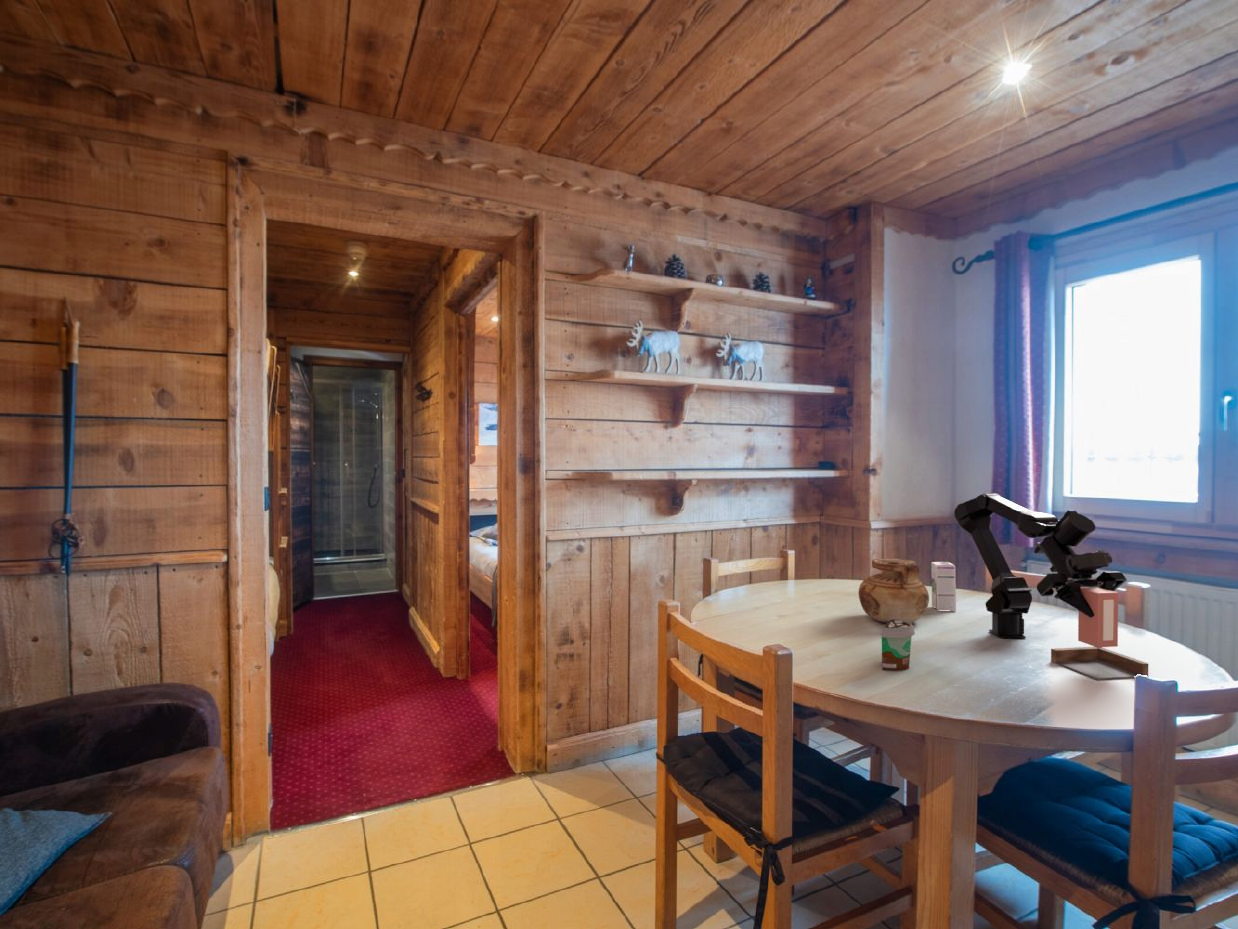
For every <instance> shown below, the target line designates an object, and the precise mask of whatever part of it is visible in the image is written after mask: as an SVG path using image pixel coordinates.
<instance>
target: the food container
mask: <svg viewBox="0 0 1238 929" xmlns="http://www.w3.org/2000/svg"><path fill="white" fill-rule="evenodd" d="M880 632H881V633H880V638H881V662H882V663H881V668H882V671H887V672H903V671H907V670H909V669H910V662H911V661H910V659H911V648H912V637H913V636H915V635H916V632H915V628H914V625H913V622H912V623H911V622H910V621H908V620H905V619H902V618H898V617H891V616H890V621H889V623H886V624H885V626H884V627H881V629H880Z"/></svg>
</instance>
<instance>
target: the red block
mask: <svg viewBox="0 0 1238 929" xmlns="http://www.w3.org/2000/svg"><path fill="white" fill-rule="evenodd" d="M1081 593H1082V595H1083V596H1084V598H1085V599H1086V601H1087V603H1088V604H1089V606H1090V607H1091V609H1092V611H1093V613H1094V616H1093V617H1089V616H1087V615H1085V614H1084V613H1082V612H1081V611H1079V610H1078V619H1077V620H1078V623H1077V624H1078V625H1077V626H1078V632H1077V633H1078V635H1077V636H1078V638H1077V639H1078V642H1081V643H1083V644H1087V645H1090V646H1091V647H1102V648H1110V647H1111V648H1113V647H1114V648H1115V647H1118V645H1119V644H1118V643H1119V642H1118V640H1119V639H1118V638H1119V637H1118V636H1119V634H1118V632H1119V630H1118V629H1119V592H1118V591H1110V590H1106V589H1102V588H1089V587H1081Z"/></svg>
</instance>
